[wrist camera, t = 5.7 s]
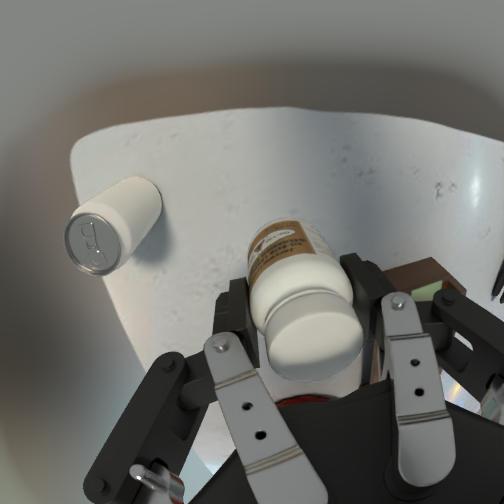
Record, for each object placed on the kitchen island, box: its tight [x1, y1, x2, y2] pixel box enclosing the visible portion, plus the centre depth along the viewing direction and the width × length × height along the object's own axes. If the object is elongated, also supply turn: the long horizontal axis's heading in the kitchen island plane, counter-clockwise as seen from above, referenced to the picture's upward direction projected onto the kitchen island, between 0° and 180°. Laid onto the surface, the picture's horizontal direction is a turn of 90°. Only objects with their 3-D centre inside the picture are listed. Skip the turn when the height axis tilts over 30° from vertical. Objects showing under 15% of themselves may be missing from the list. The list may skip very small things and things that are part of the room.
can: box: [63, 177, 162, 277], centre depth 25 cm, size 6×6×12 cm
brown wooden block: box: [359, 257, 467, 389], centre depth 38 cm, size 28×12×9 cm, turn 13°
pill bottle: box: [248, 218, 364, 382], centre depth 12 cm, size 4×4×8 cm
